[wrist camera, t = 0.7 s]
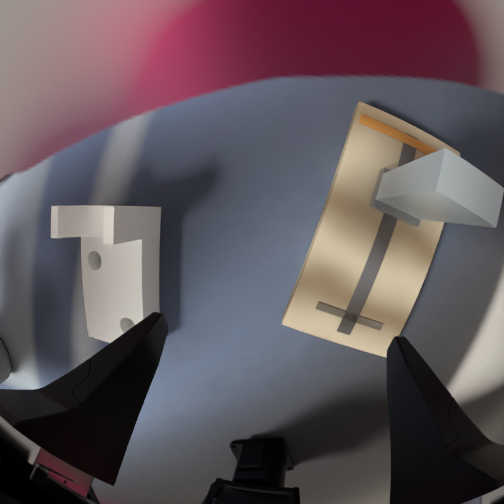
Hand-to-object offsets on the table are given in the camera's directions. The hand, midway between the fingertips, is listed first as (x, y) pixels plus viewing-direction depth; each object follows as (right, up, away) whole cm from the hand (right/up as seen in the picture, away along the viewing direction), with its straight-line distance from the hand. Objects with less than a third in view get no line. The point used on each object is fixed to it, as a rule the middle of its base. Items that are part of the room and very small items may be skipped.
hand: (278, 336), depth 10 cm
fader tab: (+10, +7, +9) cm, 15 cm away
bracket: (-13, +1, +16) cm, 21 cm away
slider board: (+9, +5, +12) cm, 16 cm away
